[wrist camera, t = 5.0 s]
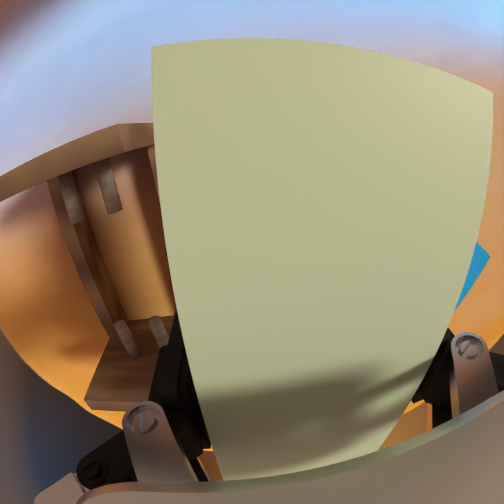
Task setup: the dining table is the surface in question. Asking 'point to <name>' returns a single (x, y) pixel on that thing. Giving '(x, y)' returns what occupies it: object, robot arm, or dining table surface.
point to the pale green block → (313, 236)
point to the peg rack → (90, 262)
